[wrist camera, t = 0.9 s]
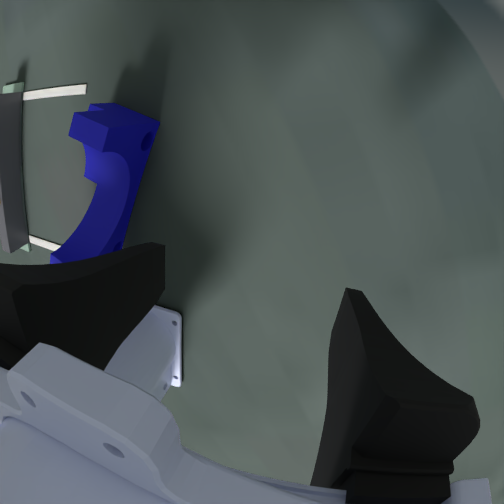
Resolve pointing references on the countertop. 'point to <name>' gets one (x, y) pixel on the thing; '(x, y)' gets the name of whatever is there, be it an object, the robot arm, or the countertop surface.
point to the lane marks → (43, 94)
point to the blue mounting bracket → (108, 176)
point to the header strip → (12, 171)
